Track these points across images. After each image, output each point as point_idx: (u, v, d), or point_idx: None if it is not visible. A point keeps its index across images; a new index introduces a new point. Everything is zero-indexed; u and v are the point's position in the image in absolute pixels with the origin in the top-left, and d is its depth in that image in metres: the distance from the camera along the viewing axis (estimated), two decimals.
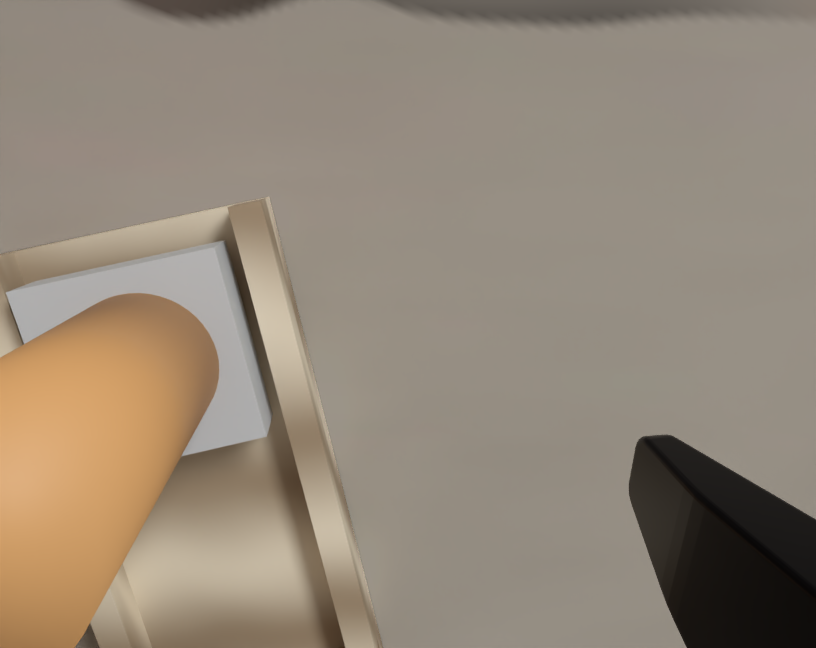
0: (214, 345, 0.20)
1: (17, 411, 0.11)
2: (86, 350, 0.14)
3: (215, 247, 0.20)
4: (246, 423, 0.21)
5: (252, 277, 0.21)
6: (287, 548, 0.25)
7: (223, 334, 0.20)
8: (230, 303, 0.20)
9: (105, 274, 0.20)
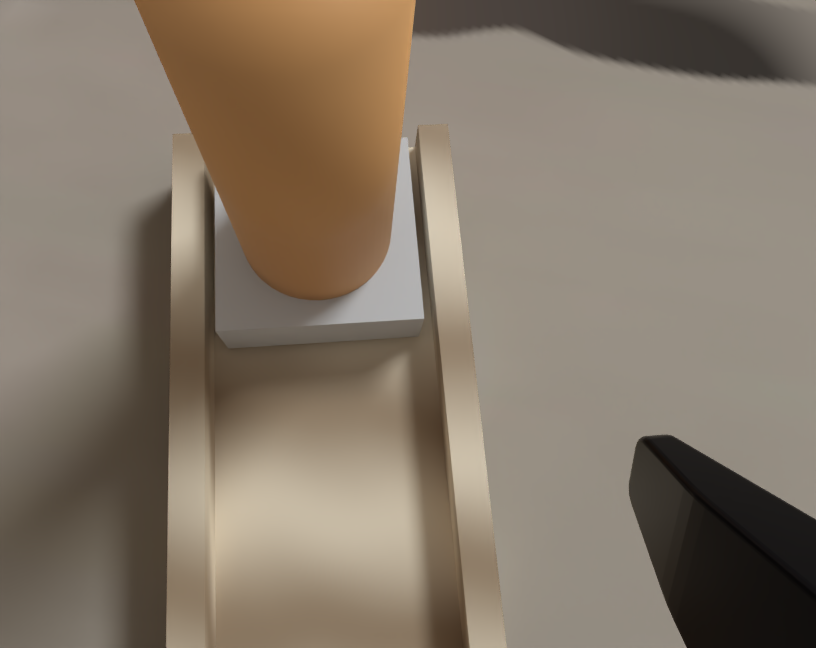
0: None
1: None
2: None
3: None
4: (406, 301, 0.20)
5: (429, 184, 0.22)
6: (406, 505, 0.21)
7: (400, 212, 0.21)
8: (411, 187, 0.21)
9: None
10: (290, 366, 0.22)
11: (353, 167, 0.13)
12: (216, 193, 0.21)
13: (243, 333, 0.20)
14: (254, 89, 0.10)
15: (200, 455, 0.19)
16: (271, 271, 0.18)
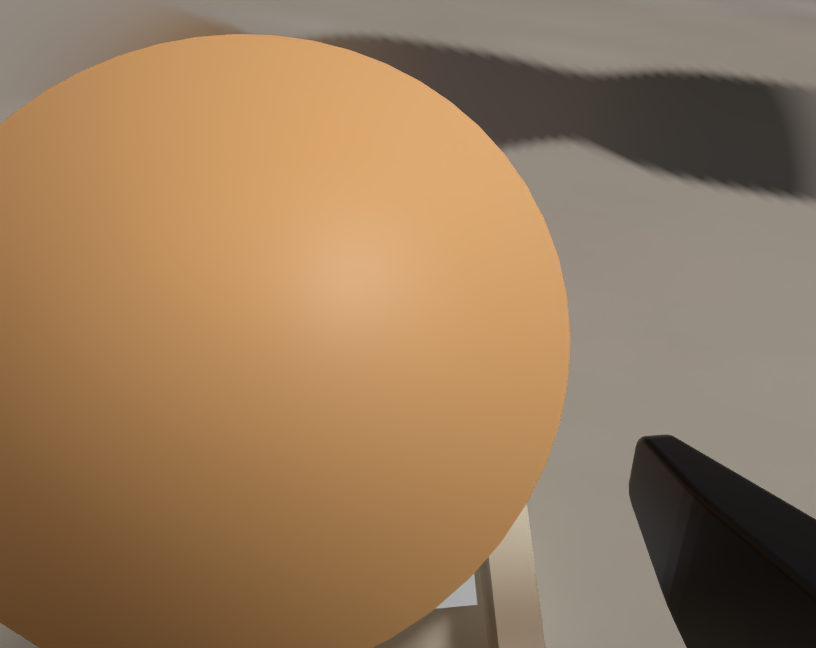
0: None
1: None
2: None
3: None
4: None
5: None
6: None
7: None
8: None
9: None
10: None
11: None
12: None
13: None
14: None
15: None
16: None
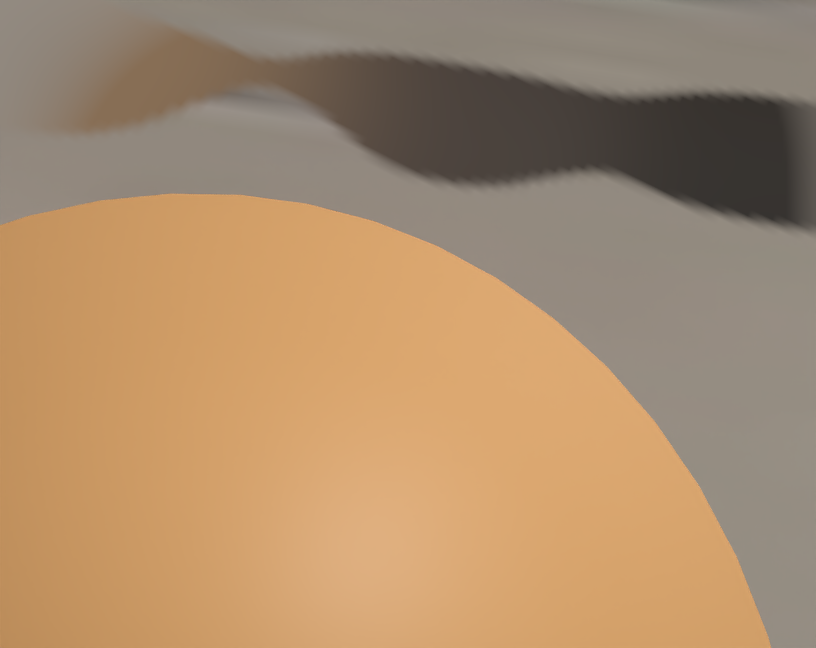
0: None
1: None
2: None
3: None
4: None
5: None
6: None
7: None
8: None
9: None
10: None
11: None
12: None
13: None
14: None
15: None
16: None
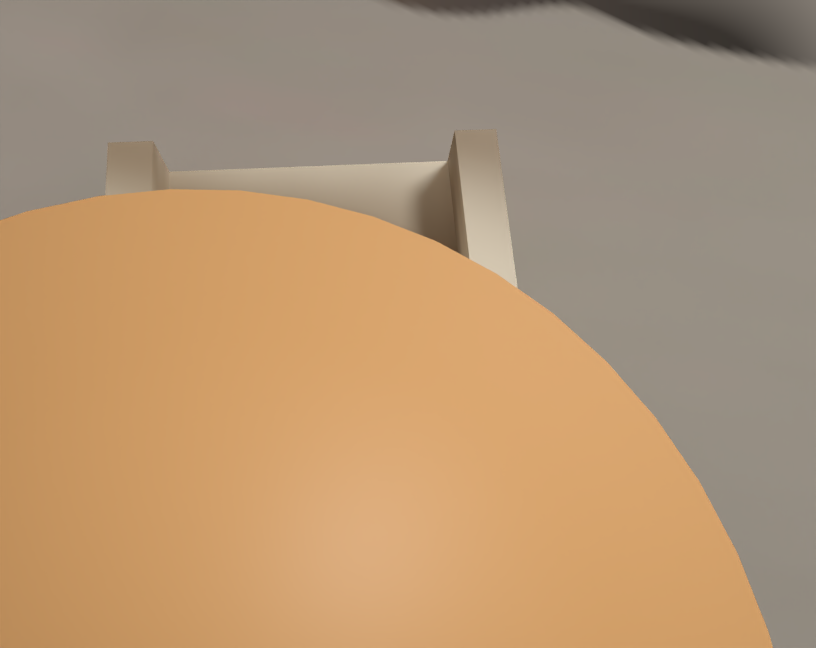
0: None
1: None
2: None
3: None
4: None
5: (472, 214, 0.16)
6: None
7: None
8: None
9: None
10: None
11: None
12: None
13: None
14: None
15: None
16: None
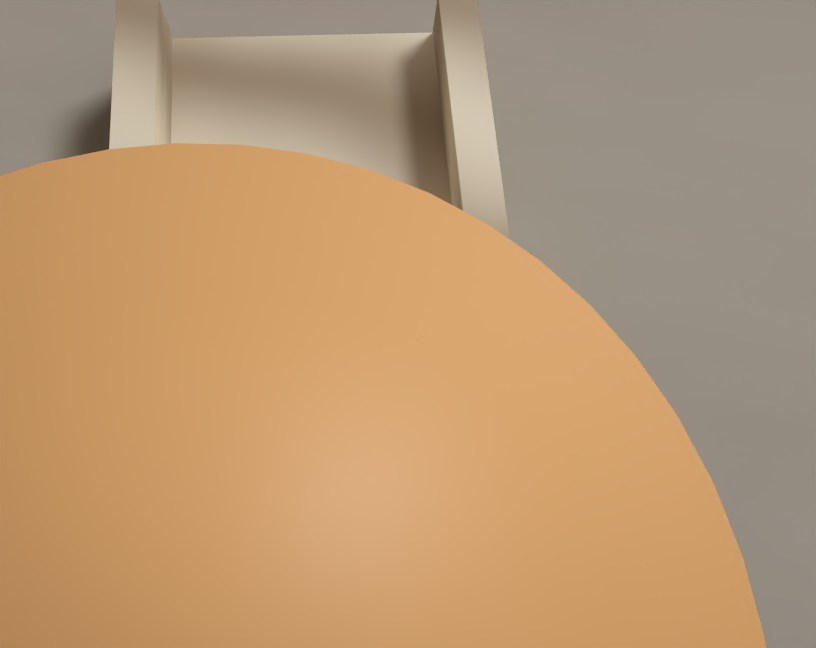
0: None
1: None
2: None
3: None
4: None
5: (453, 67, 0.17)
6: None
7: None
8: None
9: None
10: None
11: None
12: None
13: None
14: None
15: None
16: None
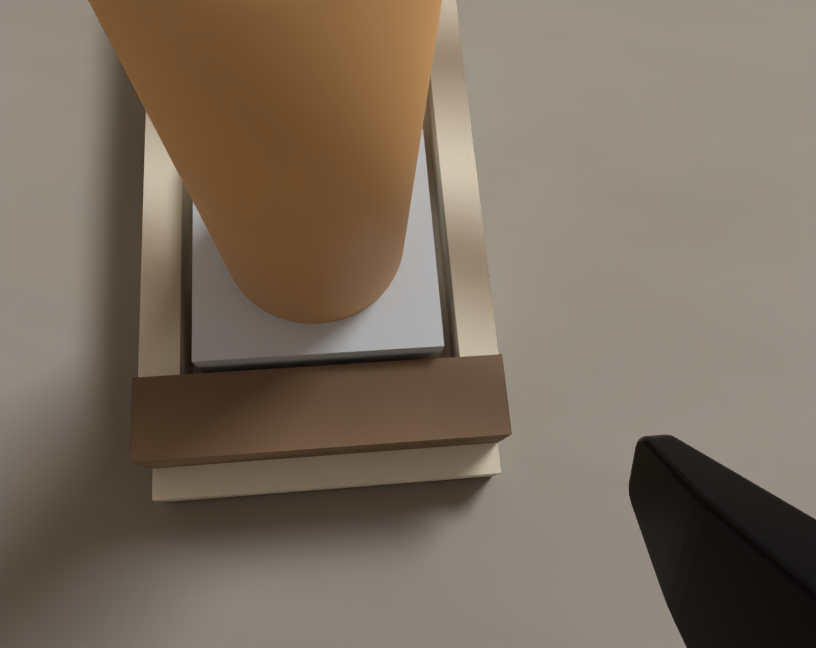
0: None
1: None
2: None
3: (422, 133, 0.18)
4: (422, 325, 0.17)
5: None
6: None
7: (415, 217, 0.17)
8: (428, 188, 0.18)
9: None
10: None
11: (362, 159, 0.10)
12: None
13: (225, 363, 0.16)
14: (219, 38, 0.07)
15: None
16: (258, 290, 0.15)
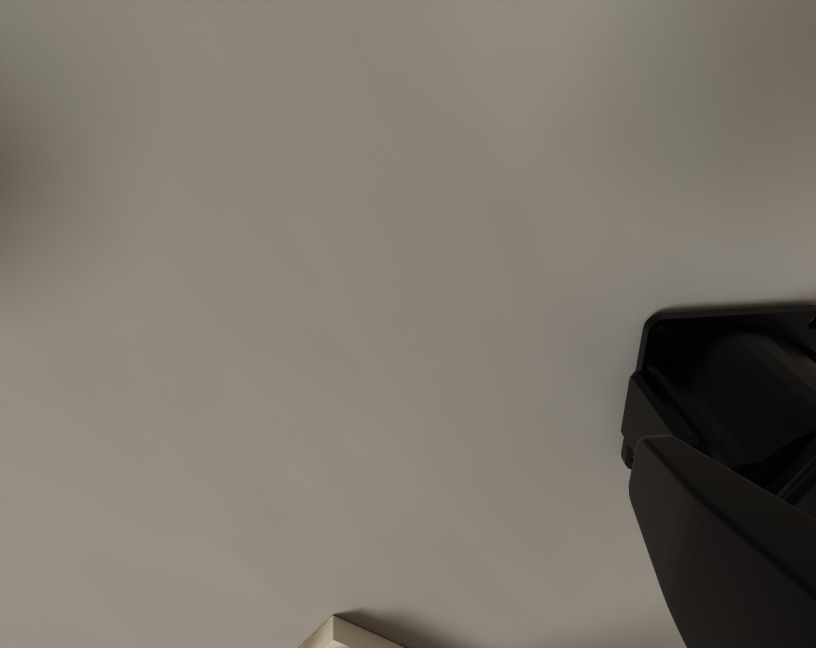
0: None
1: None
2: None
3: None
4: None
5: None
6: None
7: None
8: None
9: None
10: None
11: None
12: None
13: None
14: None
15: None
16: None
